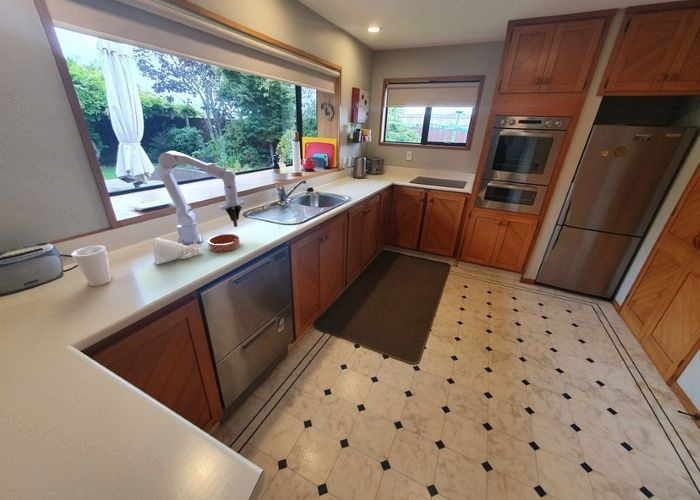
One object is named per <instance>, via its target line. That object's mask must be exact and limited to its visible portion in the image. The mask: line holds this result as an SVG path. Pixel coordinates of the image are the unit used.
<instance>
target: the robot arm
mask: <svg viewBox="0 0 700 500" xmlns="http://www.w3.org/2000/svg"><path fill="white" fill-rule="evenodd" d="M157 162H158V167H157V174H158V175H159V177H160V180H161V181H162V183H163V185H164V187H165V189H166V191H167V192H168V195H169V197H170V198H171V200H172V203H173V205H174V206H175V208H176V215H177V222H178V223H179V225H176V230H177V233H178V241H179V243H180V244H183V245H188V244H194V242H197V243H200V242H202V238H201V235H200V232H199V226H198V222H197V220H196V219H197V217H198V216H197V213H196V211H195V210H194V209H192V206H191V205H189V204H188V202H187V200H186V198H185V196H184V194H183V192H182V190H181V188H180V185H179V184H178V182H177V180H176V178H175V176H174V174H173V173H174V171H175V169H176V167H177V166H182V165H188V166H191V167H194V168H197V169H199V170H202V171H204V172H205V173H206V175H208V176H211V177H213V178H215V179H219V180H222V182H223V189H224V195H225V203H223V204H221V205H219V210H220V211H226V213H227V214H228V216H229V218H230V221H232V222H233V221H235V211H236V218H237V221H239V219H240V213H241V210H242V207H243V206H241V205H246V202H245V200H244V199H241V200H239V197H238V196H239V195H238V189H237V183H236V175H237V174H236V172H235V171H234V170H232V169H231V168H227V167H222V166H220V165H217V163H216V162H209V163H206V162H203V161H201V160H199V159H196V158H194V157H192V156H189V155H187V154H184V153H183V152H178V151H176V150H169V151H165V152H162V153H161V154H160V156H159V157H158V159H157ZM233 208H235V209H233Z"/></svg>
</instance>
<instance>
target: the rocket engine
mask: <svg viewBox="0 0 700 500" xmlns="http://www.w3.org/2000/svg"><path fill="white" fill-rule="evenodd" d="M202 247H203V244H198V242H194V243H192V244H189V245H186V244H181V243H180V242H178V241H177V242H176V241H174V240H170V239H165V238H161V237H155V238H154V241H153V253H154V260H155V264H156V265H161V264H166V263H169V262H172V261H175V260H178V259H180V258H181V259H182V260H183V259H187V258H189V257H192V256H193V257H194V256H202V255H203V252H202V251H200V249H199V248H202Z"/></svg>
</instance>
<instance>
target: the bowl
mask: <svg viewBox="0 0 700 500" xmlns="http://www.w3.org/2000/svg"><path fill="white" fill-rule="evenodd" d="M207 244H208V248H209V250H210V251H213V252H221V253H222V252H228V251H229V252H230V251H232V250H235V249H237V248H238V247H239V246H241V245H240V244H241V241H240V237H239V235H237V234H233V233H223V234H217V235H214V236H211V237H209V239H208V240H207Z"/></svg>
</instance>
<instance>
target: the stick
mask: <svg viewBox="0 0 700 500" xmlns="http://www.w3.org/2000/svg"><path fill="white" fill-rule="evenodd" d="M233 209H235V208H233ZM232 222H233V227H234V228H238V220H237V218H236V211H235V221H232Z"/></svg>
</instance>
